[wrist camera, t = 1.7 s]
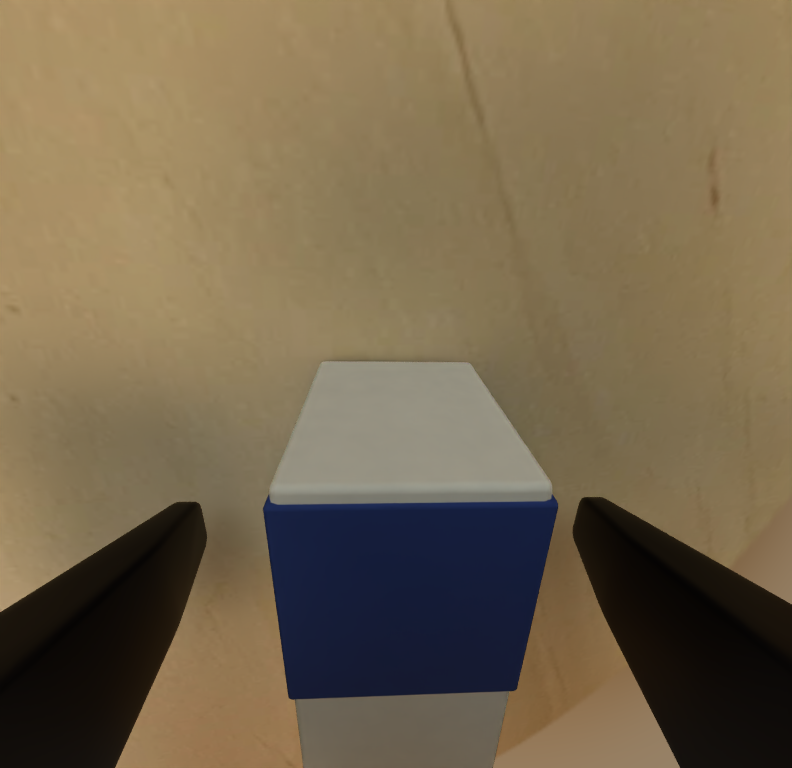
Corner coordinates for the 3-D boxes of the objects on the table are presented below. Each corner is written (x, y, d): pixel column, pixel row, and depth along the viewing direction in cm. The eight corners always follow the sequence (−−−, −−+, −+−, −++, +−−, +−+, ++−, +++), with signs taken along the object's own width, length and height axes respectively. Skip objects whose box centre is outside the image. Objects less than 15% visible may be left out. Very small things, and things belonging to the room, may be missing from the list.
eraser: (450, 578, 10) (494, 792, 6) (330, 580, 10) (301, 803, 6) (472, 359, 8) (565, 488, 4) (317, 359, 8) (259, 491, 4)
